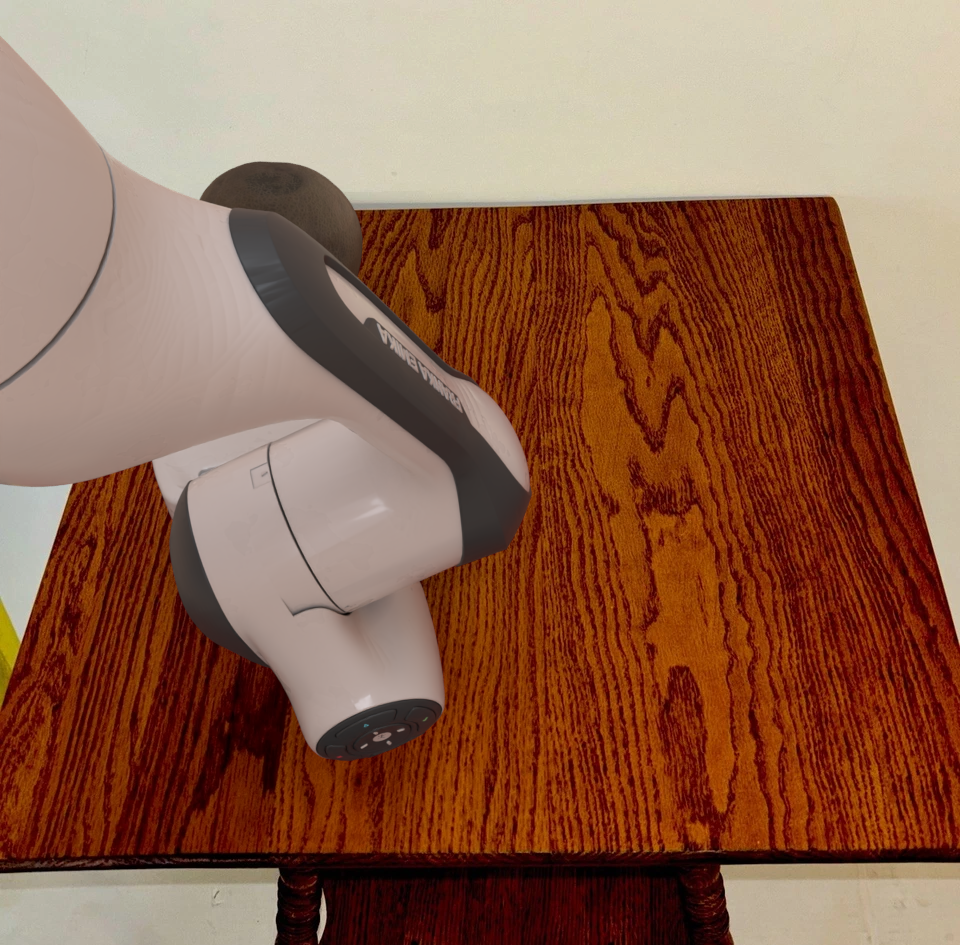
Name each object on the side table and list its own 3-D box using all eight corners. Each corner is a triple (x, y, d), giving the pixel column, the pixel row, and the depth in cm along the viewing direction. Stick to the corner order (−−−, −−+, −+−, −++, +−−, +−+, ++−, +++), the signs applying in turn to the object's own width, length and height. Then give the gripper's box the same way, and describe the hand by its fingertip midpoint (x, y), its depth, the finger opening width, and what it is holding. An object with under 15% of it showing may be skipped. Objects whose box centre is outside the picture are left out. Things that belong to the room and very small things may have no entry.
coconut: (350, 391, 84) (320, 234, 73) (187, 378, 86) (134, 224, 75) (390, 286, 94) (368, 133, 83) (242, 277, 96) (202, 127, 85)
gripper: (483, 446, 64) (428, 315, 74) (152, 527, 61) (138, 379, 70) (488, 513, 69) (436, 382, 78) (180, 591, 66) (163, 445, 75)
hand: (292, 381), depth 74 cm, fingers open, 8 cm apart
